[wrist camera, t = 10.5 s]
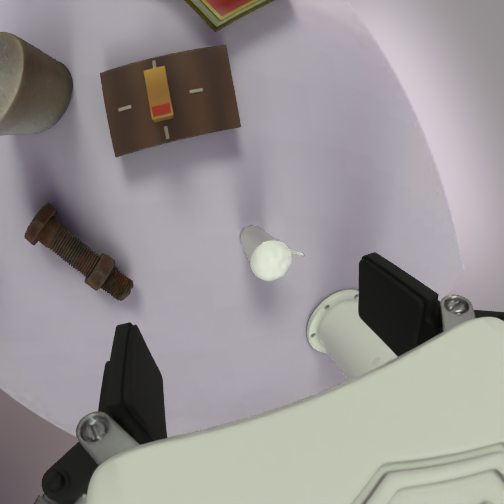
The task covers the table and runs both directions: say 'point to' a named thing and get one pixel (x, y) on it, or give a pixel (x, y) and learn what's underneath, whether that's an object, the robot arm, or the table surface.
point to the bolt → (78, 254)
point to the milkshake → (266, 253)
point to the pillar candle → (30, 87)
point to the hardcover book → (224, 10)
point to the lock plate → (182, 99)
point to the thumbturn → (158, 94)
